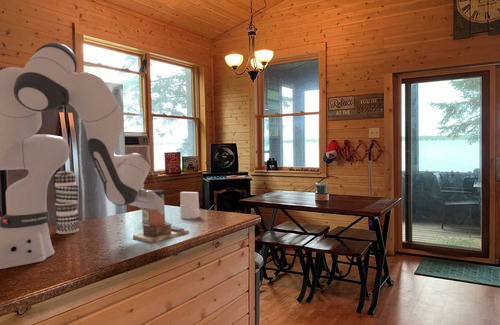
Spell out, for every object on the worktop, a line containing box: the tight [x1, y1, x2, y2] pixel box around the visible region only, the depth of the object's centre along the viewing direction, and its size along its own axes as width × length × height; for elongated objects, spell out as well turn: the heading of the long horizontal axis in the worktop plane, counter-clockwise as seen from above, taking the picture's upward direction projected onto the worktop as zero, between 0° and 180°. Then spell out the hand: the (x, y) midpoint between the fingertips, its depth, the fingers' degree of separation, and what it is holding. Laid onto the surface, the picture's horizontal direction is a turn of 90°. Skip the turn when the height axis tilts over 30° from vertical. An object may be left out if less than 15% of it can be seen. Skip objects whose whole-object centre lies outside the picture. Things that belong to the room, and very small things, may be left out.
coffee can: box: [141, 189, 166, 224], centre depth 173 cm, size 10×10×14 cm
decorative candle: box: [52, 170, 80, 235], centre depth 154 cm, size 9×9×25 cm
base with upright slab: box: [179, 191, 200, 220], centre depth 181 cm, size 9×9×12 cm
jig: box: [132, 222, 190, 244], centre depth 143 cm, size 18×11×5 cm, turn 141°
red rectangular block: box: [149, 207, 165, 227], centre depth 142 cm, size 4×4×10 cm
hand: (155, 211), depth 142 cm, fingers open, 8 cm apart
